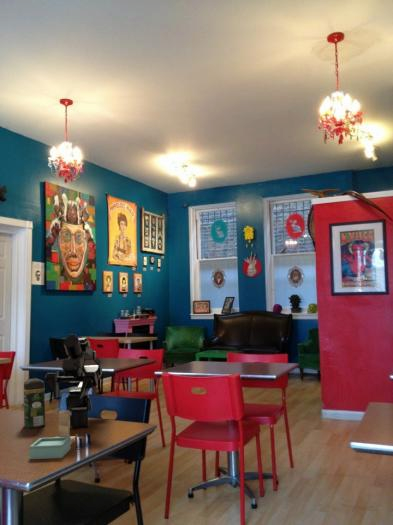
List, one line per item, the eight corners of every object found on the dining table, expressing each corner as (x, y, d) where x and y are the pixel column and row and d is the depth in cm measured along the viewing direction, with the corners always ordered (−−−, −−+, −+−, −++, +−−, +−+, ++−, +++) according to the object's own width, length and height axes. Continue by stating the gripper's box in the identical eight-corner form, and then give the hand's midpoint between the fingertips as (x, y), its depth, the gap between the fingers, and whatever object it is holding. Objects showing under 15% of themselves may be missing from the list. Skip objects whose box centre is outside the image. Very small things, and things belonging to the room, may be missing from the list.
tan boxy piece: (55, 440, 171) (55, 410, 172) (75, 439, 171) (75, 410, 172) (49, 446, 164) (48, 415, 165) (70, 445, 164) (69, 414, 165)
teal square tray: (40, 449, 159) (40, 437, 160) (70, 448, 159) (70, 436, 159) (29, 459, 149) (29, 446, 150) (61, 457, 149) (61, 445, 150)
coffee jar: (22, 424, 197) (22, 378, 199) (42, 422, 201) (42, 376, 203) (25, 429, 189) (25, 381, 191) (46, 426, 192) (46, 379, 194)
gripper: (46, 351, 182) (36, 385, 170) (95, 349, 182) (89, 384, 170) (52, 370, 189) (43, 404, 177) (100, 368, 189) (94, 402, 177)
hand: (67, 398), depth 175 cm, fingers open, 9 cm apart
